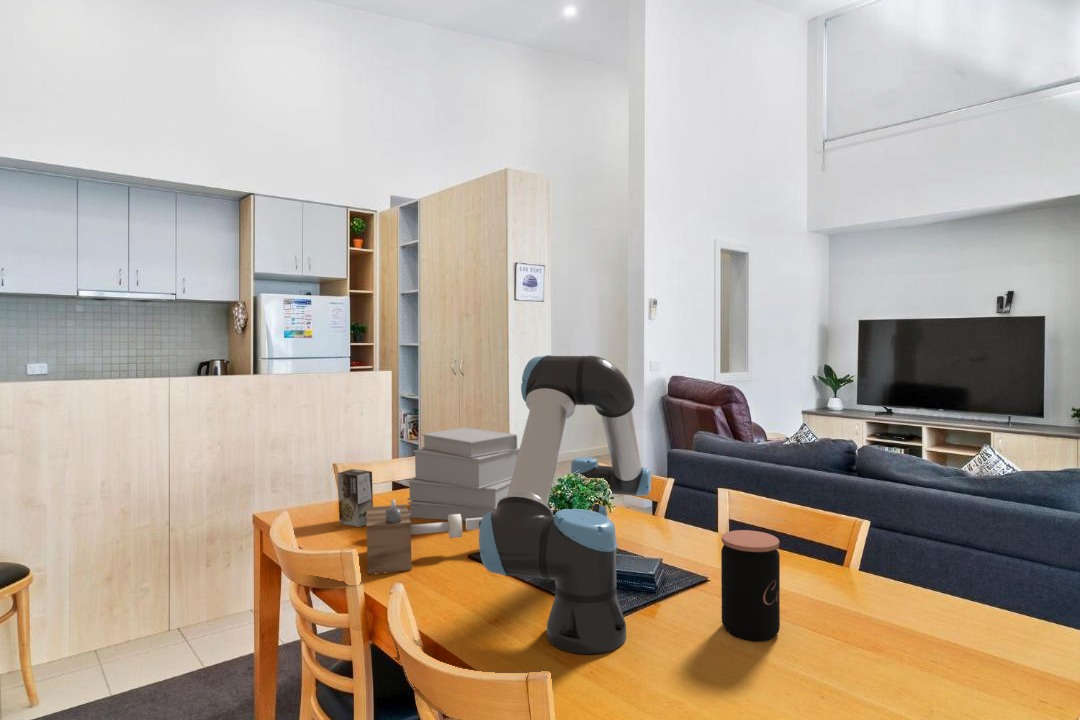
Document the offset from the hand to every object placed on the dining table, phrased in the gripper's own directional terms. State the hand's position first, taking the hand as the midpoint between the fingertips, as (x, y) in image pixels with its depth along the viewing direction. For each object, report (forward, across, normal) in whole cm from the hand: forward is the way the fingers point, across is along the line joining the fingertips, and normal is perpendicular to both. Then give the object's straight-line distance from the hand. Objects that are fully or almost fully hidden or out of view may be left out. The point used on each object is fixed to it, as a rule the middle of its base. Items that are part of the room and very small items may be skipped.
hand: (466, 524), depth 171 cm
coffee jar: (-46, -61, -8) cm, 77 cm away
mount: (+20, -1, -8) cm, 22 cm away
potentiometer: (+19, -8, +4) cm, 21 cm away
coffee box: (+29, +37, -8) cm, 48 cm away
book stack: (-6, +40, -8) cm, 42 cm away
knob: (+9, 0, -3) cm, 10 cm away
